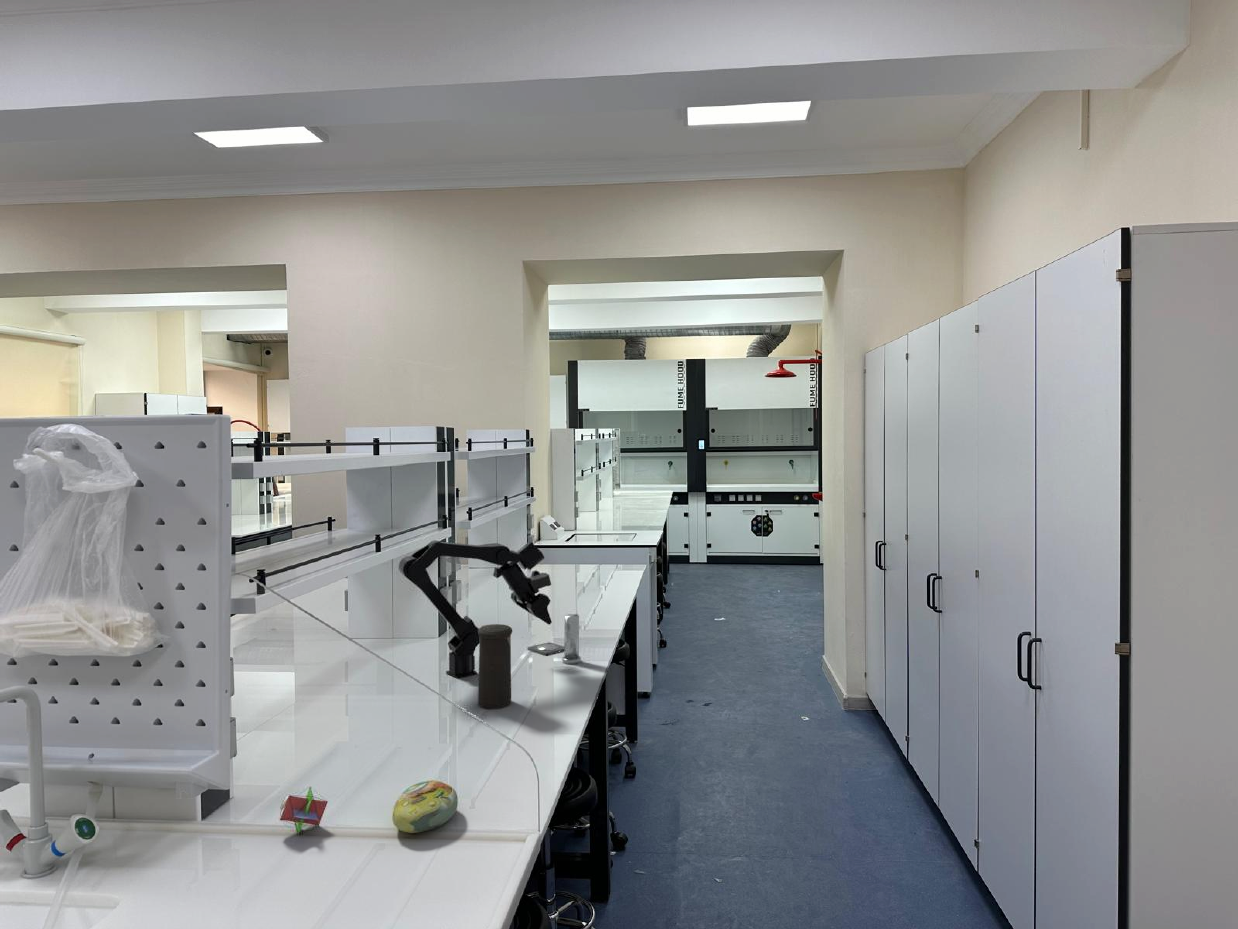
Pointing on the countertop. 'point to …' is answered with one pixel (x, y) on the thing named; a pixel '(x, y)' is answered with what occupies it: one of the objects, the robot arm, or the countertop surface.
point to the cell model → (424, 806)
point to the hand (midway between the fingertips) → (544, 620)
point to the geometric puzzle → (302, 810)
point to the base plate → (546, 648)
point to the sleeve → (571, 639)
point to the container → (494, 666)
